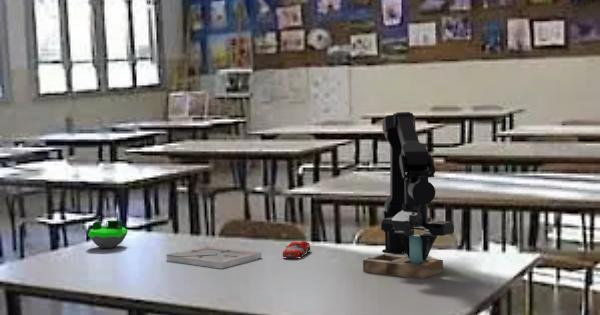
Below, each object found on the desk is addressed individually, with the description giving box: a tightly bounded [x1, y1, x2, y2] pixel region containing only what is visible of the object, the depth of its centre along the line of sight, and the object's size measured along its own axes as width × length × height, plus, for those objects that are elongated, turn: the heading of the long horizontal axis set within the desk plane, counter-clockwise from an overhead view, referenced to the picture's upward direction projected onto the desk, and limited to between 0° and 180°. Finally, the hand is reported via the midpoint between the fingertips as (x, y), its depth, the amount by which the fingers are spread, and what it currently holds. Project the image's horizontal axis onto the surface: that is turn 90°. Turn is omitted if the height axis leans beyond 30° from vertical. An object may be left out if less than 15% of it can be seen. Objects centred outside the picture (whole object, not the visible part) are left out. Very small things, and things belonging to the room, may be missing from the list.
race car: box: [282, 240, 311, 259], centre depth 272 cm, size 13×5×4 cm, turn 161°
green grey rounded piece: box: [87, 212, 128, 249], centre depth 294 cm, size 12×12×11 cm
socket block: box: [362, 252, 444, 280], centre depth 245 cm, size 18×10×3 cm, turn 51°
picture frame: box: [165, 245, 263, 269], centre depth 270 cm, size 16×2×22 cm
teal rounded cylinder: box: [409, 234, 425, 265], centre depth 242 cm, size 4×4×8 cm
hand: (417, 259), depth 242 cm, fingers closed on teal rounded cylinder, 4 cm apart
